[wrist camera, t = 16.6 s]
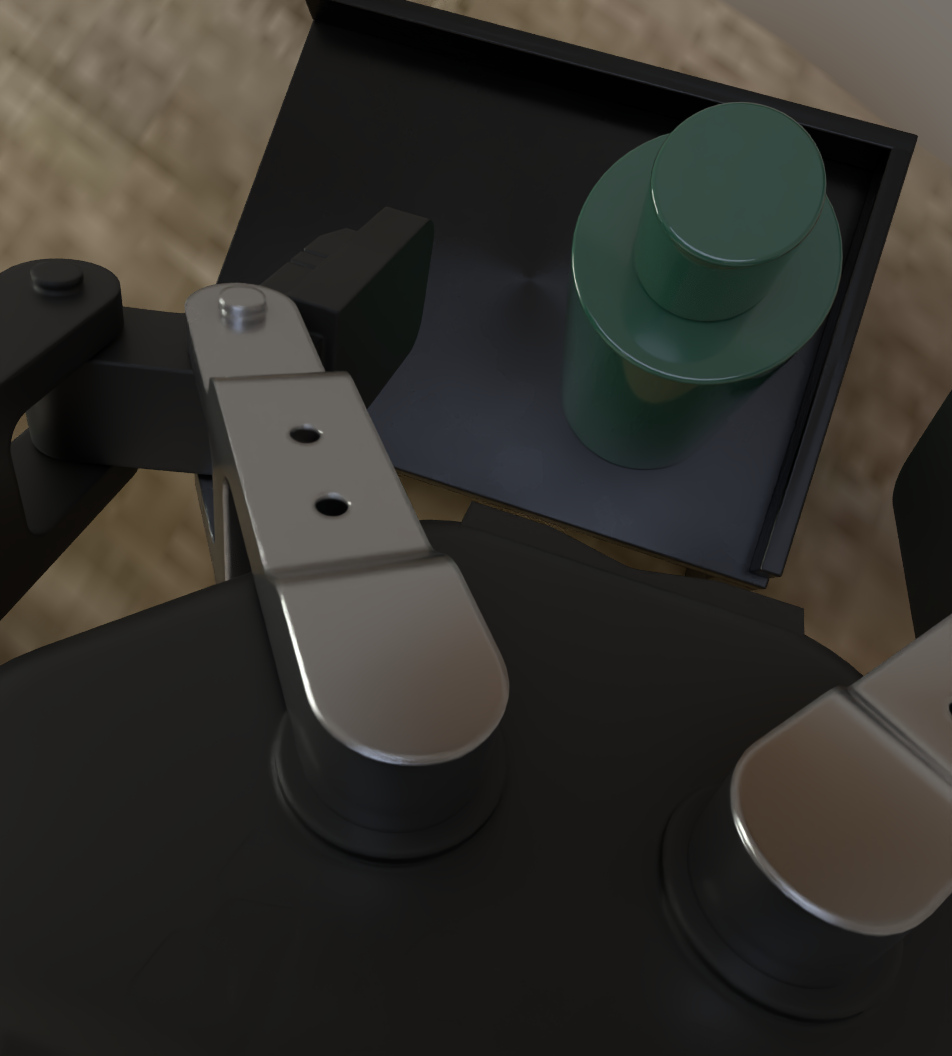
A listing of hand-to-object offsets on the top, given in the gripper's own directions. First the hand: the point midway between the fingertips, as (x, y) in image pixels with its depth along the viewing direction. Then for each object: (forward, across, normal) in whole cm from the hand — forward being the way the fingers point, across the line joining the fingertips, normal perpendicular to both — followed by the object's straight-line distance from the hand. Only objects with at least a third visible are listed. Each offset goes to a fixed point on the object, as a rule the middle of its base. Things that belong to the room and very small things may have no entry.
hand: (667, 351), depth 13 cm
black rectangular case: (+16, +4, +10) cm, 19 cm away
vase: (+10, 0, +6) cm, 11 cm away
